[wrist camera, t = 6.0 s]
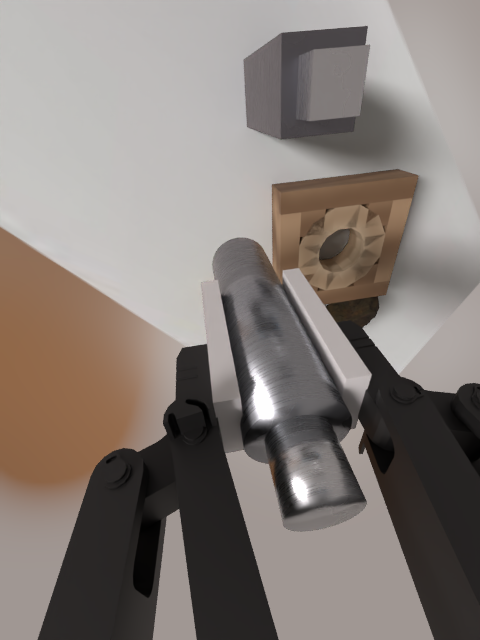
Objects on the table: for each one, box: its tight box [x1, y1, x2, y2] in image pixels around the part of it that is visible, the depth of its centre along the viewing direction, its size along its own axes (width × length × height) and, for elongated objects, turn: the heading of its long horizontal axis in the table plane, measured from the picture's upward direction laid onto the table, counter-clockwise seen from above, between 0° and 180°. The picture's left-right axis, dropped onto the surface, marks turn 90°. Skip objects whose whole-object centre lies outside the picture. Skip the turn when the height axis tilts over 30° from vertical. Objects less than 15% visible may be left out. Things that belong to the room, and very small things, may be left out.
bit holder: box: [272, 169, 418, 304], centre depth 29 cm, size 12×12×3 cm
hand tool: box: [326, 296, 379, 328], centre depth 36 cm, size 19×4×5 cm, turn 131°
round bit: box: [212, 238, 367, 531], centre depth 12 cm, size 3×3×13 cm
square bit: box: [244, 26, 370, 139], centre depth 17 cm, size 4×4×12 cm
